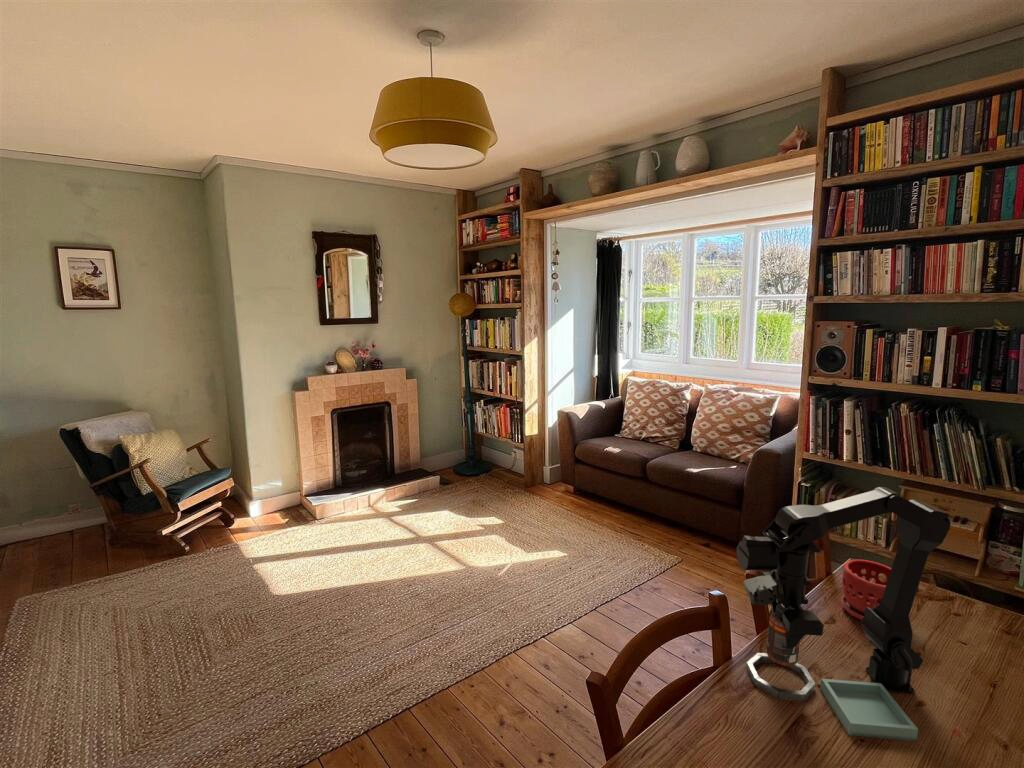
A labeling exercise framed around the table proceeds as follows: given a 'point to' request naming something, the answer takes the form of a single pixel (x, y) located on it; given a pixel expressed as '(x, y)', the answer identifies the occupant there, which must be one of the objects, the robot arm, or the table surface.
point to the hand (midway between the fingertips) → (783, 638)
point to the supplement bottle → (780, 640)
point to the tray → (868, 710)
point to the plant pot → (862, 586)
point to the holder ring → (774, 690)
